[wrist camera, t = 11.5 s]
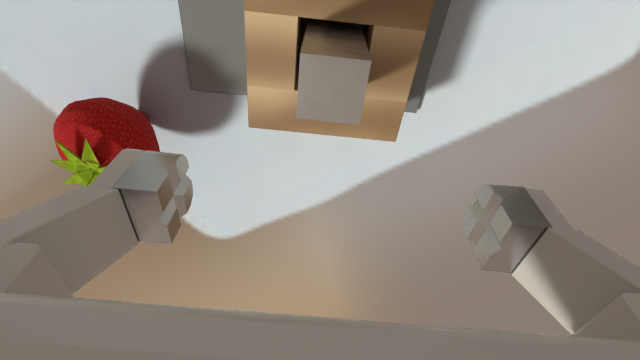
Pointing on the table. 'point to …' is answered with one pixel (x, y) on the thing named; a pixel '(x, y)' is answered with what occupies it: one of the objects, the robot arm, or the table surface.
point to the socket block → (284, 56)
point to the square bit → (332, 72)
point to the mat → (230, 48)
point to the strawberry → (99, 136)
